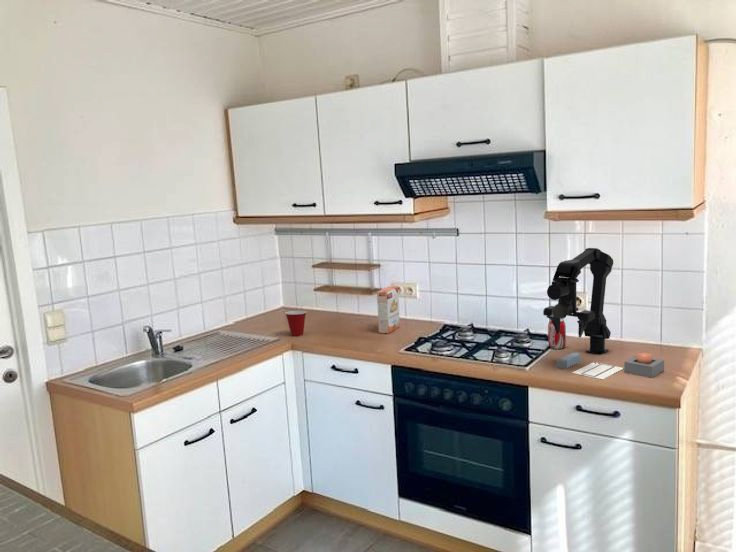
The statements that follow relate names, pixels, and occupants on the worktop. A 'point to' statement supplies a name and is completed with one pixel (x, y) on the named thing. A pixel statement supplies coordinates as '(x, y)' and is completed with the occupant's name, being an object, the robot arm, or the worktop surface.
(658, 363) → the button housing
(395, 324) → the cracker box
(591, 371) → the paper sheet
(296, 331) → the plastic cup
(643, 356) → the button
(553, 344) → the soda can
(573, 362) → the rectangular block
